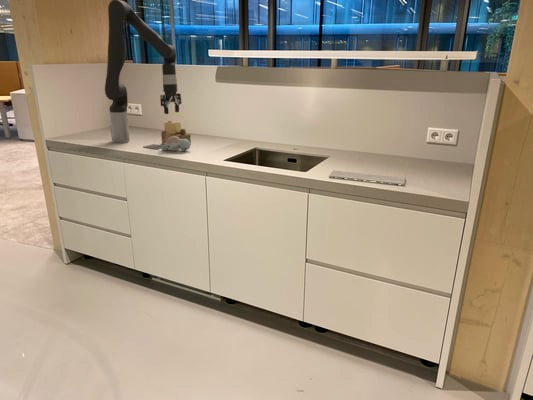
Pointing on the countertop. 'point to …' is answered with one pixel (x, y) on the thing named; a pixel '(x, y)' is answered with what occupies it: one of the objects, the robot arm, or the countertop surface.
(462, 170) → the countertop surface
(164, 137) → the brown notched block
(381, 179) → the flat grey slab
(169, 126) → the olive yellow block
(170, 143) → the toy
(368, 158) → the countertop surface
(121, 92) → the robot arm
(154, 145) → the mat
